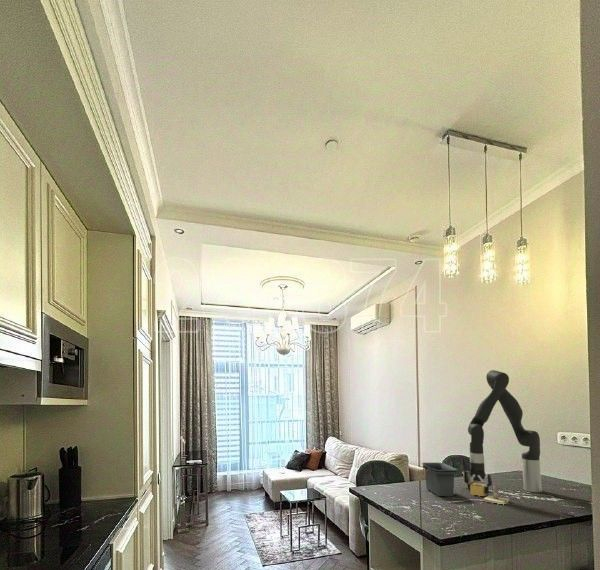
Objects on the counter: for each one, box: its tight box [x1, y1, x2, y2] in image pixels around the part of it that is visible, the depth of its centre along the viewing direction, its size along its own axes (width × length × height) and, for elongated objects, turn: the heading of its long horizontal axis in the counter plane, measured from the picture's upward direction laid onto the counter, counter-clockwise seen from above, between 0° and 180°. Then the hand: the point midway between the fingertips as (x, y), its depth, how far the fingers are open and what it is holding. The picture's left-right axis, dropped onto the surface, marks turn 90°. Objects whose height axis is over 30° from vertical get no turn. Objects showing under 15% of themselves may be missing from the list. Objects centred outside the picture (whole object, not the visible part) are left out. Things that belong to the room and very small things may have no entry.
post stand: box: [482, 484, 510, 506], centre depth 249 cm, size 10×10×8 cm
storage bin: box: [421, 462, 458, 497], centre depth 266 cm, size 21×16×14 cm
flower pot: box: [462, 471, 479, 490], centre depth 277 cm, size 9×9×9 cm
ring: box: [469, 483, 487, 497], centre depth 263 cm, size 7×7×5 cm
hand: (478, 492), depth 263 cm, fingers open, 8 cm apart
